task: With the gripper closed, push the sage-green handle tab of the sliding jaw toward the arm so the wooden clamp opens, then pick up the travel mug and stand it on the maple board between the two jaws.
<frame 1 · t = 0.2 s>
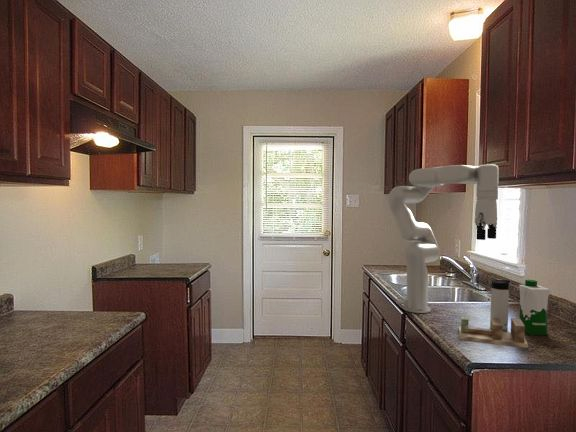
hand: (486, 239, 156), 36 cm above the countertop, tool pointing down, fingers open, 9 cm apart
travel mug: (499, 329, 158), on the countertop
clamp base: (491, 338, 147), on the countertop
sliding jaw: (480, 326, 149), point 4 cm above the countertop, slide at 0.0 cm
milk carton: (532, 332, 155), on the countertop
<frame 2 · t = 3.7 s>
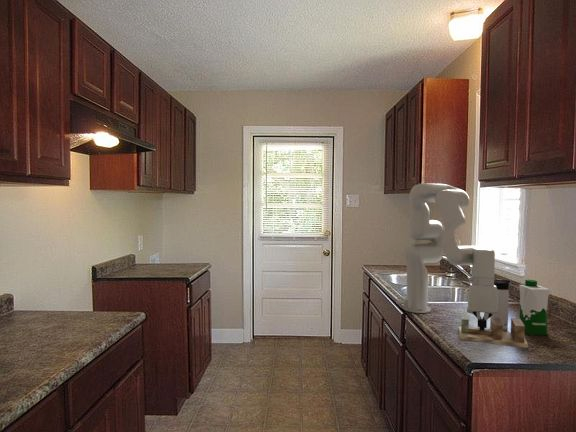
hand: (481, 329, 148), 3 cm above the countertop, tool pointing down, fingers closed
sliding jaw: (480, 326, 149), point 4 cm above the countertop, slide at -0.1 cm, touching gripper
everything else where it was.
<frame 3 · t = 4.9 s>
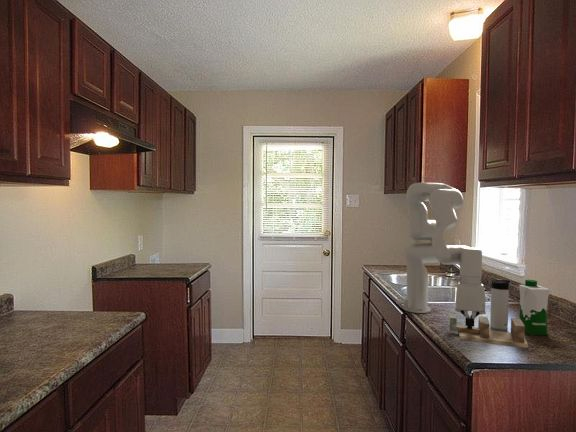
hand: (469, 327, 150), 3 cm above the countertop, tool pointing down, fingers closed
sliding jaw: (468, 324, 150), point 4 cm above the countertop, slide at 4.1 cm, touching gripper
everything else where it was.
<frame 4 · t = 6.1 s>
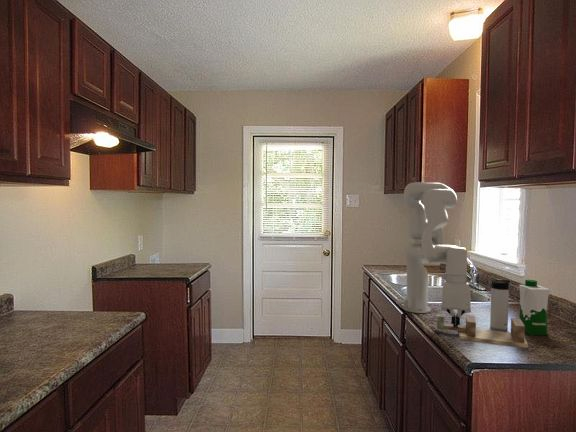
hand: (455, 326, 151), 3 cm above the countertop, tool pointing down, fingers closed
sliding jaw: (455, 323, 152), point 4 cm above the countertop, slide at 8.6 cm, touching gripper
everything else where it was.
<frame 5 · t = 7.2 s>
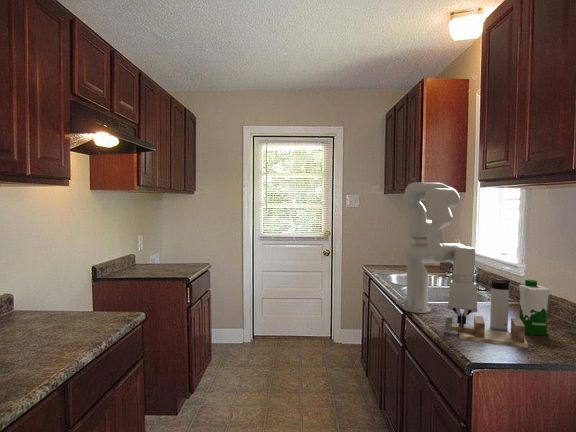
hand: (461, 325, 152), 3 cm above the countertop, tool pointing down, fingers closed
sliding jaw: (464, 324, 151), point 4 cm above the countertop, slide at 5.7 cm
everything else where it was.
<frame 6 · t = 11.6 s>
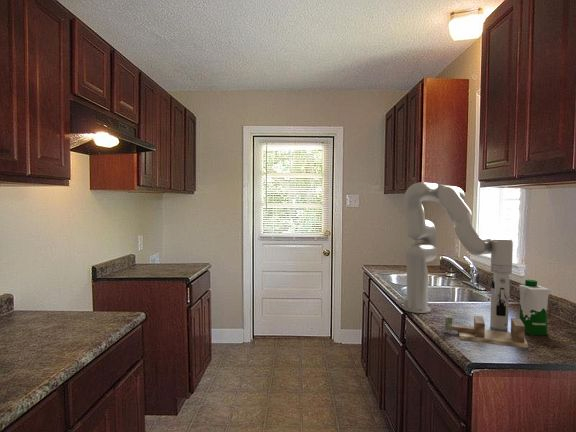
hand: (499, 312, 158), 7 cm above the countertop, tool pointing down, fingers closed on travel mug, 6 cm apart
travel mug: (499, 329, 158), on the countertop, touching gripper
everything else where it was.
when the fingers open (9 cm above the countertop, at t = 16.9 s): travel mug drops 1 cm, resting on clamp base.
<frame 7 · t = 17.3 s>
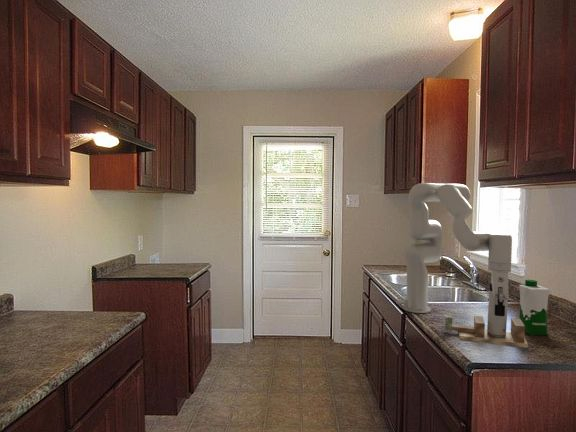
hand: (498, 312, 146), 10 cm above the countertop, tool pointing down, fingers open, 9 cm apart
travel mug: (496, 335, 147), point 1 cm above the countertop, touching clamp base
everything else where it was.
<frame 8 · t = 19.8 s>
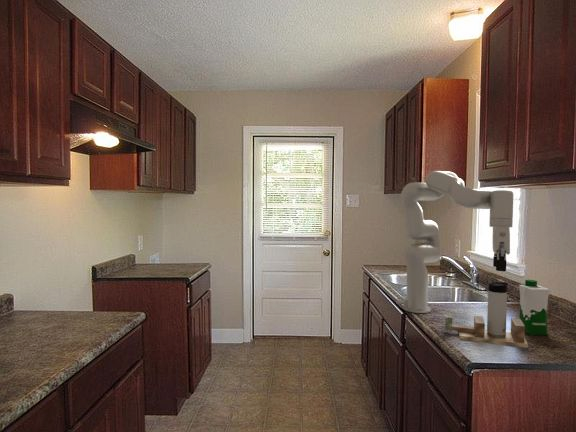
hand: (499, 268, 146), 26 cm above the countertop, tool pointing down, fingers open, 9 cm apart
nothing on the countertop moved.
at the end: sliding jaw slide at 5.7 cm; travel mug inside the target area (0.2 cm from its centre), point 1.0 cm above the countertop; travel mug tilted 0° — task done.
